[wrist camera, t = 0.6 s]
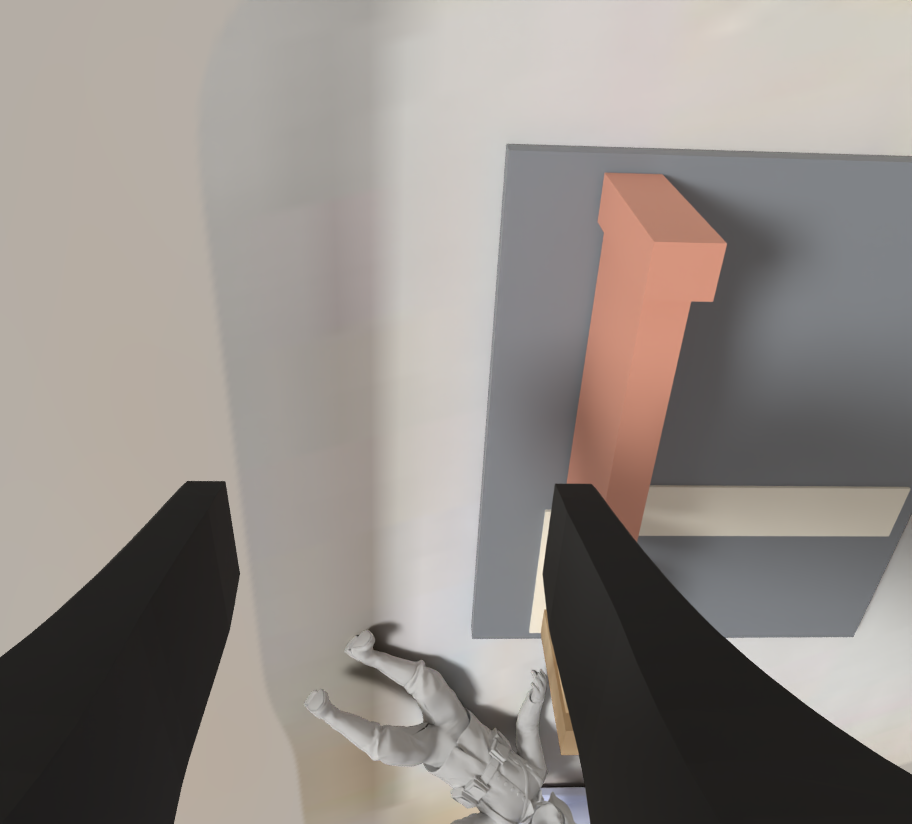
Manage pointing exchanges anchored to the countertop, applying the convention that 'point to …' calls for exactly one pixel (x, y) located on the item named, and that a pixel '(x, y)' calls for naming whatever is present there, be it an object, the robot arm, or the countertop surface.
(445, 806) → the countertop surface
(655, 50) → the countertop surface
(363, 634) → the soldier figure
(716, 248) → the fence panel
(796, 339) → the board
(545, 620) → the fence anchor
